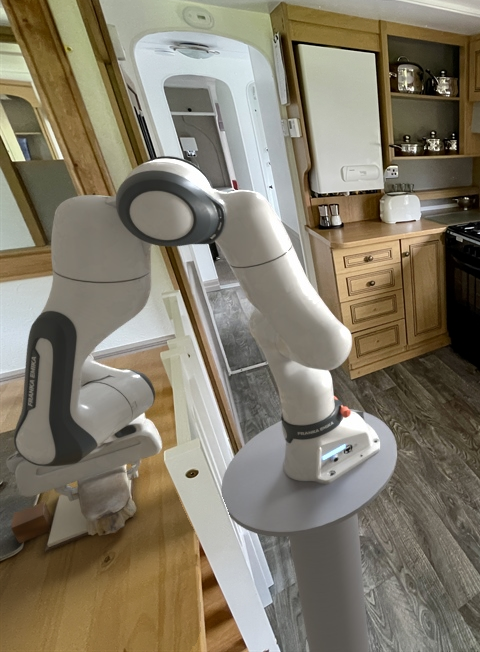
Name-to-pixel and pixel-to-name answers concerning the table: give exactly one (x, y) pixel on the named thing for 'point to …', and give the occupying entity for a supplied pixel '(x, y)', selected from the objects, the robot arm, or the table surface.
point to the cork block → (31, 522)
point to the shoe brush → (106, 501)
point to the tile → (70, 521)
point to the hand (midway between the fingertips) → (106, 486)
